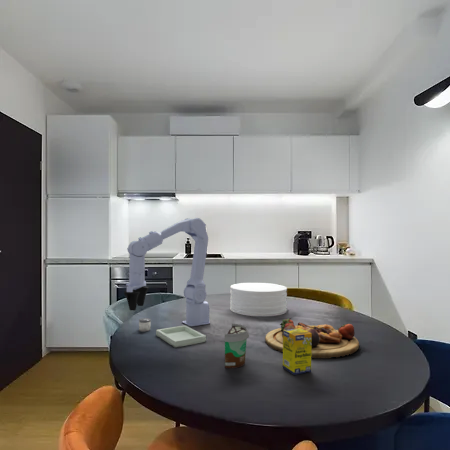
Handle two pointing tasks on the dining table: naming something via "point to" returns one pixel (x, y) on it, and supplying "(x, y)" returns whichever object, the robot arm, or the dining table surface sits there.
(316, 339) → the wooden plate with food
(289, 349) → the supplement box
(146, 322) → the shaker
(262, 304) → the plate stack
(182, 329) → the tray
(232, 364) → the food container
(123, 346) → the dining table surface
